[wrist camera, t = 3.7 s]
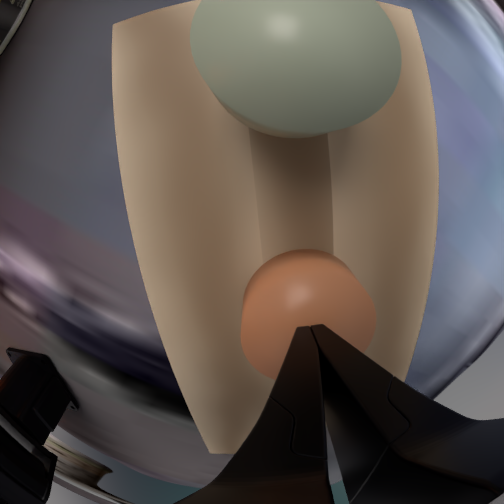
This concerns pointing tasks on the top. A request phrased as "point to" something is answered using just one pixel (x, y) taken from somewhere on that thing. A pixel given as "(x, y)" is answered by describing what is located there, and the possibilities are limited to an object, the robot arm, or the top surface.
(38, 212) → the top surface
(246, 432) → the button panel
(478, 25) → the top surface
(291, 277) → the orange knob
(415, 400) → the robot arm
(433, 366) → the top surface
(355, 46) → the grey-green rounded knob
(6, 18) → the coffee can
